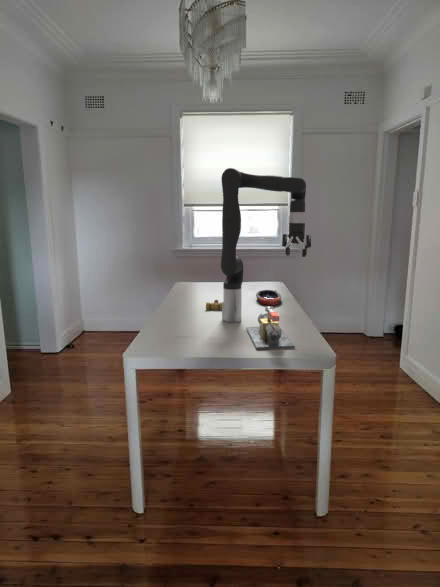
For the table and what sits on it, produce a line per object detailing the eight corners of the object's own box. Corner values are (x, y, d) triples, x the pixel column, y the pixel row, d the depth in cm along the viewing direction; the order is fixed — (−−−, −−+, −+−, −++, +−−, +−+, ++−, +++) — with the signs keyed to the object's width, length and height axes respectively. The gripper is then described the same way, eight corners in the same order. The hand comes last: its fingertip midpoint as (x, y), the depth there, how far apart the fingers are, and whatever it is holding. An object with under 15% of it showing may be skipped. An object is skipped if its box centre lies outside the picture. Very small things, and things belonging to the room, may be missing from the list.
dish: (278, 295, 251) (279, 288, 250) (283, 307, 221) (283, 299, 220) (255, 295, 252) (255, 288, 251) (256, 307, 222) (256, 299, 221)
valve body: (246, 329, 181) (246, 304, 178) (279, 328, 182) (279, 303, 180) (256, 349, 155) (256, 321, 152) (294, 348, 156) (295, 320, 153)
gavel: (208, 297, 235) (224, 297, 235) (208, 304, 236) (224, 304, 236) (205, 303, 215) (223, 303, 214) (205, 311, 215) (223, 311, 215)
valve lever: (264, 310, 167) (264, 305, 167) (272, 310, 168) (272, 305, 167) (271, 321, 151) (271, 316, 151) (280, 321, 151) (280, 316, 151)
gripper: (279, 222, 180) (279, 255, 183) (307, 222, 171) (305, 258, 174) (287, 221, 185) (286, 254, 189) (314, 221, 176) (313, 256, 180)
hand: (295, 256), depth 182 cm, fingers open, 8 cm apart
